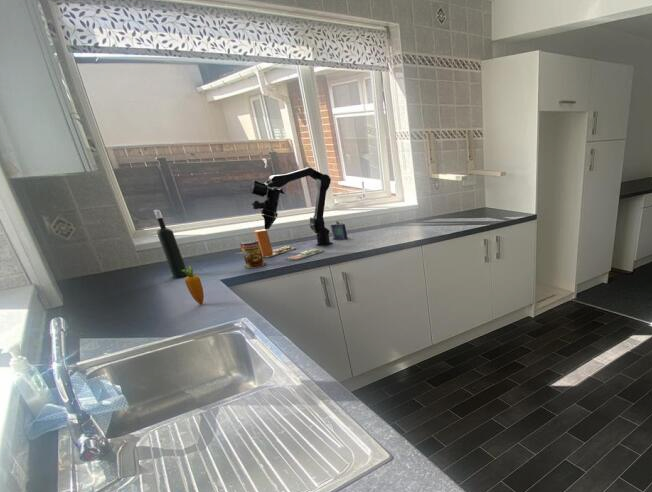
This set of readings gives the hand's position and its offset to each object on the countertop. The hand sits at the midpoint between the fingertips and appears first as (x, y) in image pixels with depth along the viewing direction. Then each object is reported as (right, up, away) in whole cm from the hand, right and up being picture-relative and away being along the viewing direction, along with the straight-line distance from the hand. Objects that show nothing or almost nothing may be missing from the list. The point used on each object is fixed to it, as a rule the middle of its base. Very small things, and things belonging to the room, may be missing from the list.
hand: (266, 229), depth 224 cm
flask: (+26, +3, +36) cm, 45 cm away
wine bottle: (-25, -29, -27) cm, 47 cm away
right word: (+20, -14, +1) cm, 24 cm away
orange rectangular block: (-1, -13, +2) cm, 14 cm away
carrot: (+9, -45, -62) cm, 77 cm away
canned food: (+2, -22, -14) cm, 26 cm away
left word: (+2, -11, +8) cm, 14 cm away
